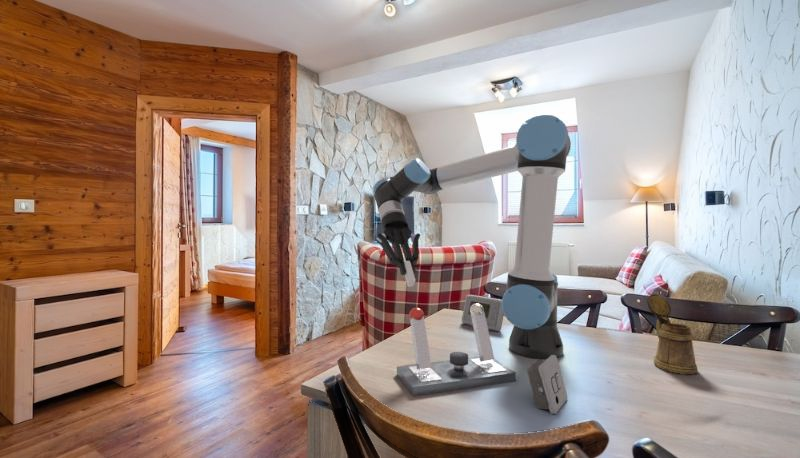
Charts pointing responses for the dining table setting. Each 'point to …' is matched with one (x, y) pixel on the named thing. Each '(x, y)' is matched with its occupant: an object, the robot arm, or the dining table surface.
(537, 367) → the electrical switch
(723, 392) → the dining table surface
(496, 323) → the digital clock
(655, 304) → the wooden mug
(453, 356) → the black button
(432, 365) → the console
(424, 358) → the red knob lever
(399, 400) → the dining table surface
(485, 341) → the ivory knob lever
